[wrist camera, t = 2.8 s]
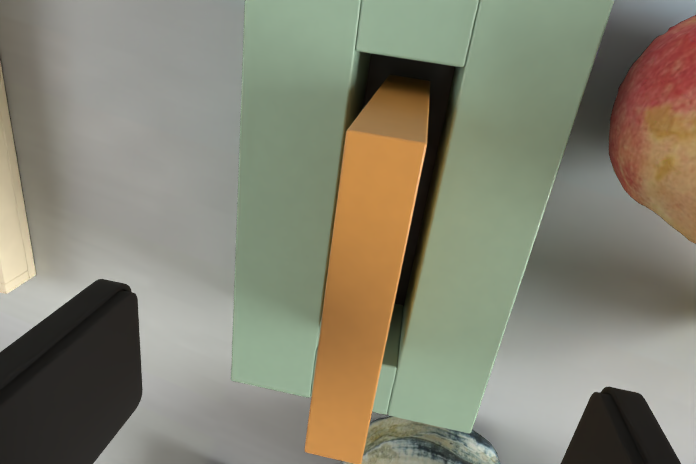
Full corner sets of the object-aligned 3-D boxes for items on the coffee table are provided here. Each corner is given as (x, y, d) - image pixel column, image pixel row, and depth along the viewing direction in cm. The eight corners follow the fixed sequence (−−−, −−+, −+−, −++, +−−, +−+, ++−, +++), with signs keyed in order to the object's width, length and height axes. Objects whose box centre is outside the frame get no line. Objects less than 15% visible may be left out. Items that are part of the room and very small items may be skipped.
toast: (389, 74, 18) (345, 129, 9) (430, 80, 18) (427, 143, 9) (356, 275, 22) (303, 453, 13) (390, 282, 22) (361, 466, 13)
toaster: (293, -44, 18) (245, -64, 13) (570, -5, 17) (620, -13, 12) (266, 330, 25) (229, 399, 20) (459, 371, 24) (465, 452, 20)
